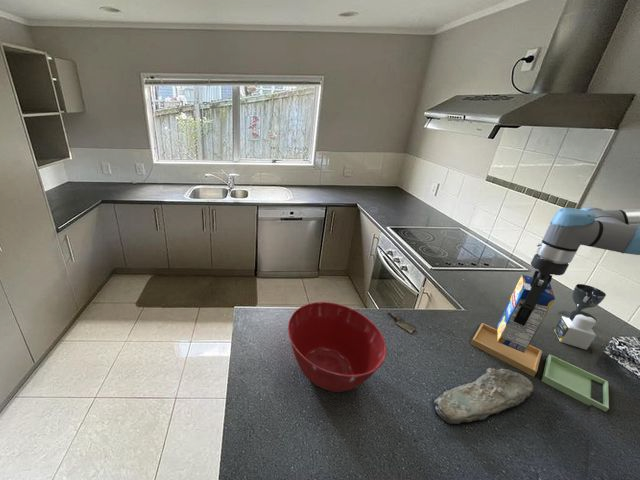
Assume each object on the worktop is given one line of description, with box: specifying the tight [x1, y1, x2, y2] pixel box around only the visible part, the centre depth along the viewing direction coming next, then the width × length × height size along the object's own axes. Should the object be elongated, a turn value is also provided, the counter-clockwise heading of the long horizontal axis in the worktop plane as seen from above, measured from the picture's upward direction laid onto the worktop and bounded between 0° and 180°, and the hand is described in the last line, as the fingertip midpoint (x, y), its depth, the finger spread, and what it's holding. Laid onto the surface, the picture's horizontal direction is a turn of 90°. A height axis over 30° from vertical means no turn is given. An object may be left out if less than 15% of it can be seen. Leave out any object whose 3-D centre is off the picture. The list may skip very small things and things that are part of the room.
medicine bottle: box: [553, 309, 598, 350], centre depth 102 cm, size 7×7×12 cm
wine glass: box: [559, 283, 607, 318], centre depth 112 cm, size 8×8×15 cm
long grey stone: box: [433, 367, 534, 425], centre depth 81 cm, size 35×5×10 cm
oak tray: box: [470, 322, 543, 378], centre depth 99 cm, size 17×13×2 cm
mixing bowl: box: [287, 301, 387, 393], centre depth 86 cm, size 28×28×16 cm
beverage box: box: [497, 274, 556, 353], centre depth 93 cm, size 7×11×22 cm, turn 141°
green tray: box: [541, 353, 610, 413], centre depth 87 cm, size 13×13×2 cm
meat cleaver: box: [386, 310, 415, 334], centre depth 110 cm, size 12×1×5 cm
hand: (522, 315), depth 93 cm, fingers closed on beverage box, 11 cm apart
